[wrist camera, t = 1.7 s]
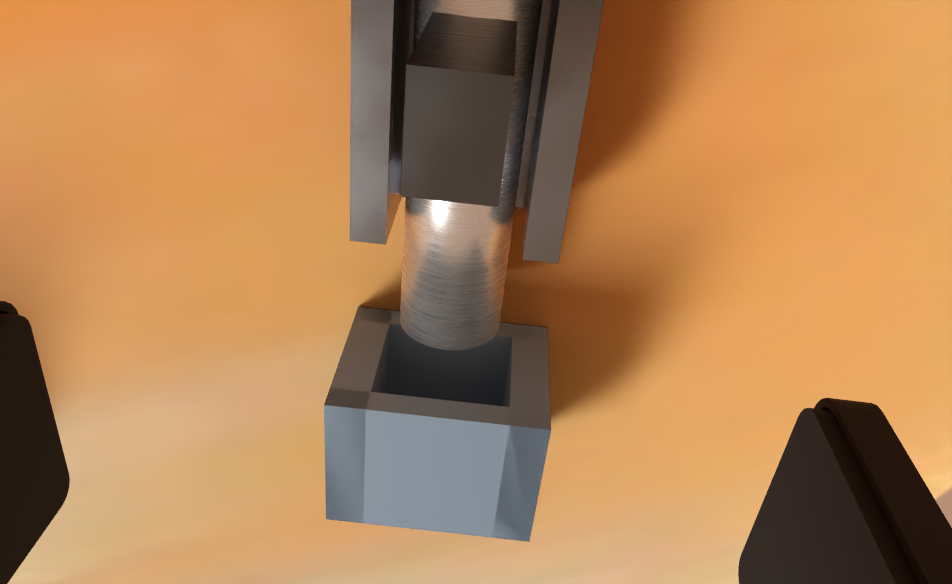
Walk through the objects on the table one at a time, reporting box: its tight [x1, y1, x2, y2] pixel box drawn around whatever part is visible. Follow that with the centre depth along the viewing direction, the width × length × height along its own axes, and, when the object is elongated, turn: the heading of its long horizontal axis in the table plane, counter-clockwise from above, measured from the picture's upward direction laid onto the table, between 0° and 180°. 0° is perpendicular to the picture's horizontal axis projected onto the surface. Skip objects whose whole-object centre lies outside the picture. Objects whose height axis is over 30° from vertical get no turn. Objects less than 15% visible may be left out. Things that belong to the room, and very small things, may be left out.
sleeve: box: [350, 0, 604, 263], centre depth 24 cm, size 12×7×5 cm, turn 175°
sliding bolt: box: [400, 0, 543, 350], centre depth 23 cm, size 14×4×9 cm, turn 175°
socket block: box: [324, 307, 551, 542], centre depth 32 cm, size 6×8×6 cm
